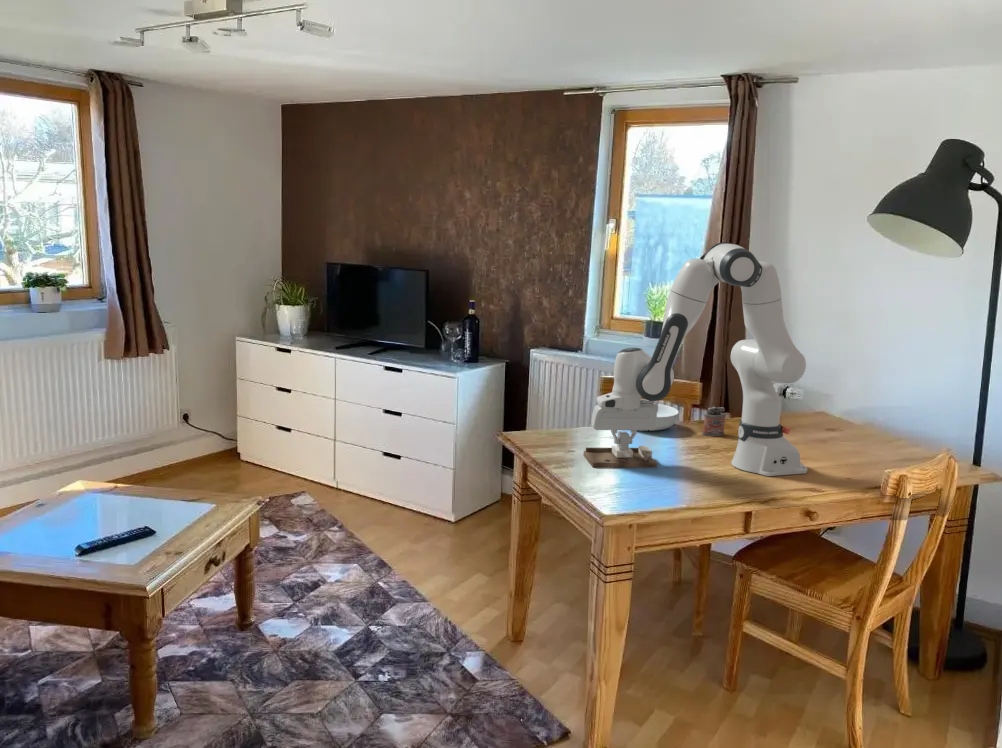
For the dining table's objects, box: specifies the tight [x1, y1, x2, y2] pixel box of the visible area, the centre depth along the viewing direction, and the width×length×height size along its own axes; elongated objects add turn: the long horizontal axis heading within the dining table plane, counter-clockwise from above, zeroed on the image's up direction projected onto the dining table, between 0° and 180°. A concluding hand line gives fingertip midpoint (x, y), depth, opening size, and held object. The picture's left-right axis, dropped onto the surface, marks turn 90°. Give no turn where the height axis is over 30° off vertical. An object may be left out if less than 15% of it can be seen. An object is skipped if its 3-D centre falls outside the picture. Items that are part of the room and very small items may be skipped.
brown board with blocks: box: [582, 445, 658, 469], centre depth 248 cm, size 20×12×4 cm, turn 98°
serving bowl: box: [649, 403, 680, 432], centre depth 289 cm, size 21×21×7 cm
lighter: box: [701, 406, 727, 437], centre depth 283 cm, size 8×3×10 cm, turn 104°
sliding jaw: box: [611, 430, 633, 460], centre depth 247 cm, size 5×9×7 cm, turn 8°
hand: (622, 443), depth 249 cm, fingers closed on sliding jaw, 2 cm apart
